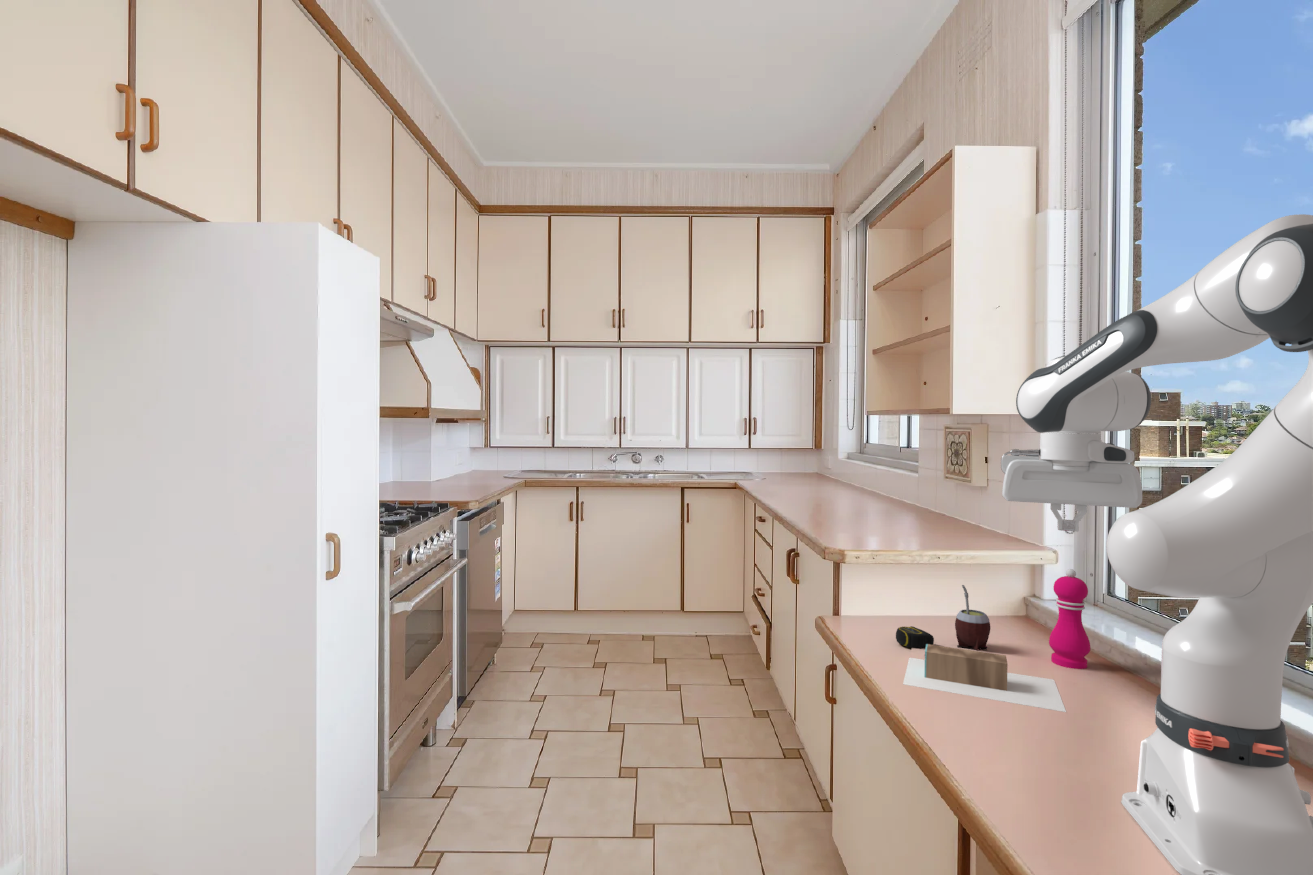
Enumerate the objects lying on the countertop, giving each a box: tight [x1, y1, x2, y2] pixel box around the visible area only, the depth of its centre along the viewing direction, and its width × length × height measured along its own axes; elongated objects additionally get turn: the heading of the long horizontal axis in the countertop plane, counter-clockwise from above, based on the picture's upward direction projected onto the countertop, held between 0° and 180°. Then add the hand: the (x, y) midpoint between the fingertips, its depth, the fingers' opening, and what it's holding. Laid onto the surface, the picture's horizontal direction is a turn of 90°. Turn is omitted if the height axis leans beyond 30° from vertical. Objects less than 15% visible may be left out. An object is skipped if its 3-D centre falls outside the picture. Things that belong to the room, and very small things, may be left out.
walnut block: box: [924, 644, 1009, 691], centre depth 123 cm, size 5×5×14 cm
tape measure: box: [895, 626, 935, 649], centre depth 144 cm, size 7×7×4 cm
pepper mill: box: [1048, 568, 1091, 670], centre depth 132 cm, size 7×7×20 cm
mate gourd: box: [954, 584, 991, 652], centre depth 142 cm, size 8×8×15 cm
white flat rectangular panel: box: [902, 657, 1067, 713], centre depth 122 cm, size 16×26×1 cm, turn 65°
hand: (1067, 530), depth 111 cm, fingers closed
